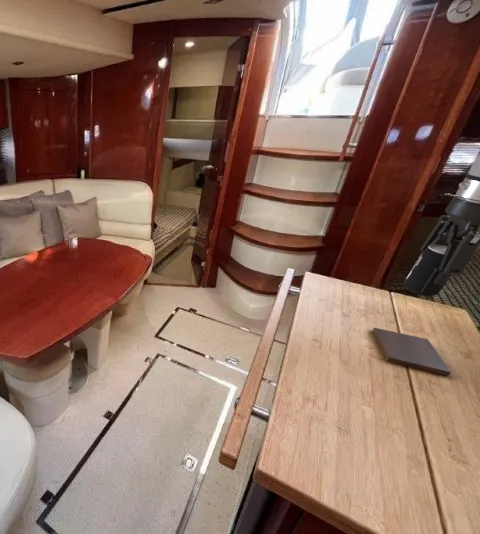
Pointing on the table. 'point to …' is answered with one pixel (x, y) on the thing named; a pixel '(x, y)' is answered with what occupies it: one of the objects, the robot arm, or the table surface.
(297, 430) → the table surface
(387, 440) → the table surface
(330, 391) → the table surface
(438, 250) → the beverage can
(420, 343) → the walnut board
